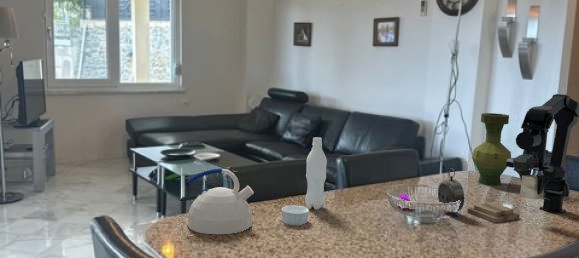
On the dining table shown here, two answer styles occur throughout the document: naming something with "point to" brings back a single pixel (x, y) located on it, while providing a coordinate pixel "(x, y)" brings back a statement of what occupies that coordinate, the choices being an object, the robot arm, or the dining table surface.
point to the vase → (492, 150)
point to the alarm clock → (451, 191)
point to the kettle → (220, 208)
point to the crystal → (405, 197)
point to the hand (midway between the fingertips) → (531, 192)
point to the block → (530, 187)
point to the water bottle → (316, 175)
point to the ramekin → (295, 215)
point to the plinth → (493, 219)
